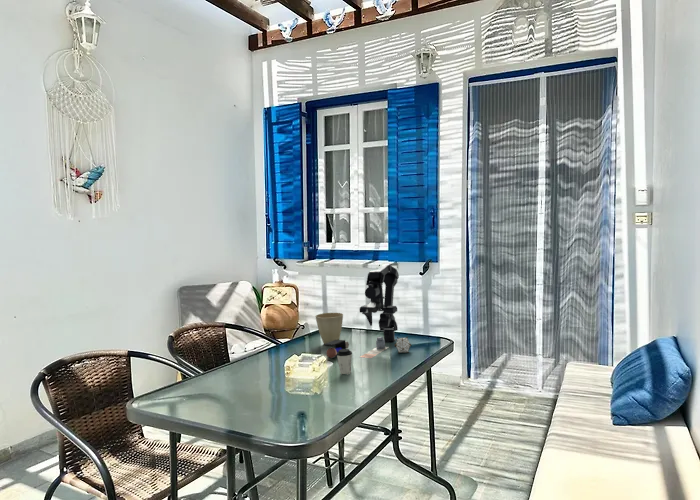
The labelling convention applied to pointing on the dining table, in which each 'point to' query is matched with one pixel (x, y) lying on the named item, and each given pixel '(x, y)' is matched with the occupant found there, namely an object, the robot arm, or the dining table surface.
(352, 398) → the dining table surface
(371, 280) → the robot arm
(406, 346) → the game die
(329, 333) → the plant pot
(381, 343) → the pawn
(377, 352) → the board
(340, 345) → the figurine character
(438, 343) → the dining table surface
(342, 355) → the coffee cup
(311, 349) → the dining table surface
